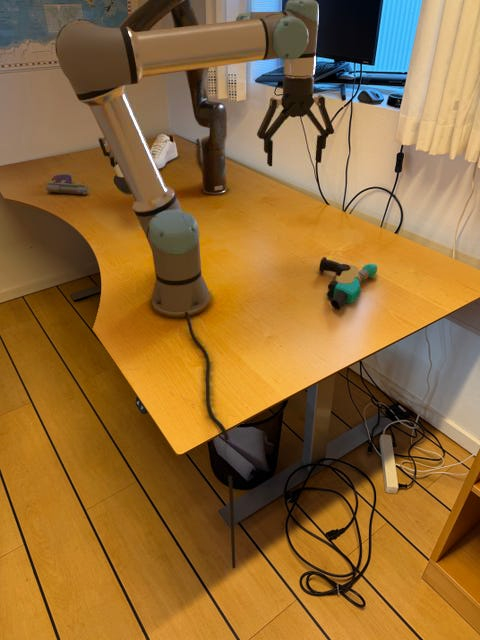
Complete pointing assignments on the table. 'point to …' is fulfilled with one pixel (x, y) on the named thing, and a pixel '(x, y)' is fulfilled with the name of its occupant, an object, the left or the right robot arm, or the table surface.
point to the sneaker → (164, 150)
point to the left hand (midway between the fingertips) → (294, 163)
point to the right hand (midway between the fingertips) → (123, 166)
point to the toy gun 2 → (345, 281)
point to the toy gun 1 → (65, 185)
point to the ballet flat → (121, 181)
